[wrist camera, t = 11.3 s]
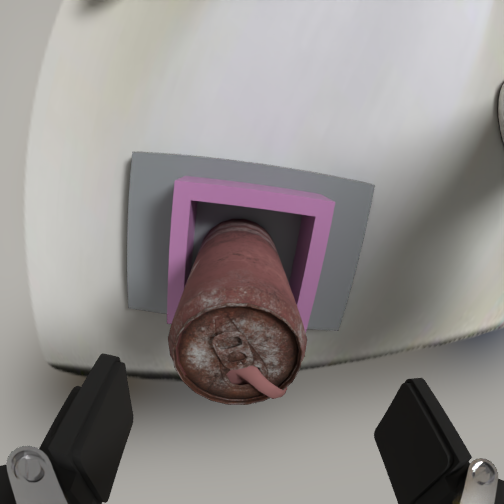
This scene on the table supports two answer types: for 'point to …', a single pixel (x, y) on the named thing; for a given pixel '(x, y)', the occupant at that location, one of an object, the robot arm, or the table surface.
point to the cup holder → (250, 208)
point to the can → (237, 319)
